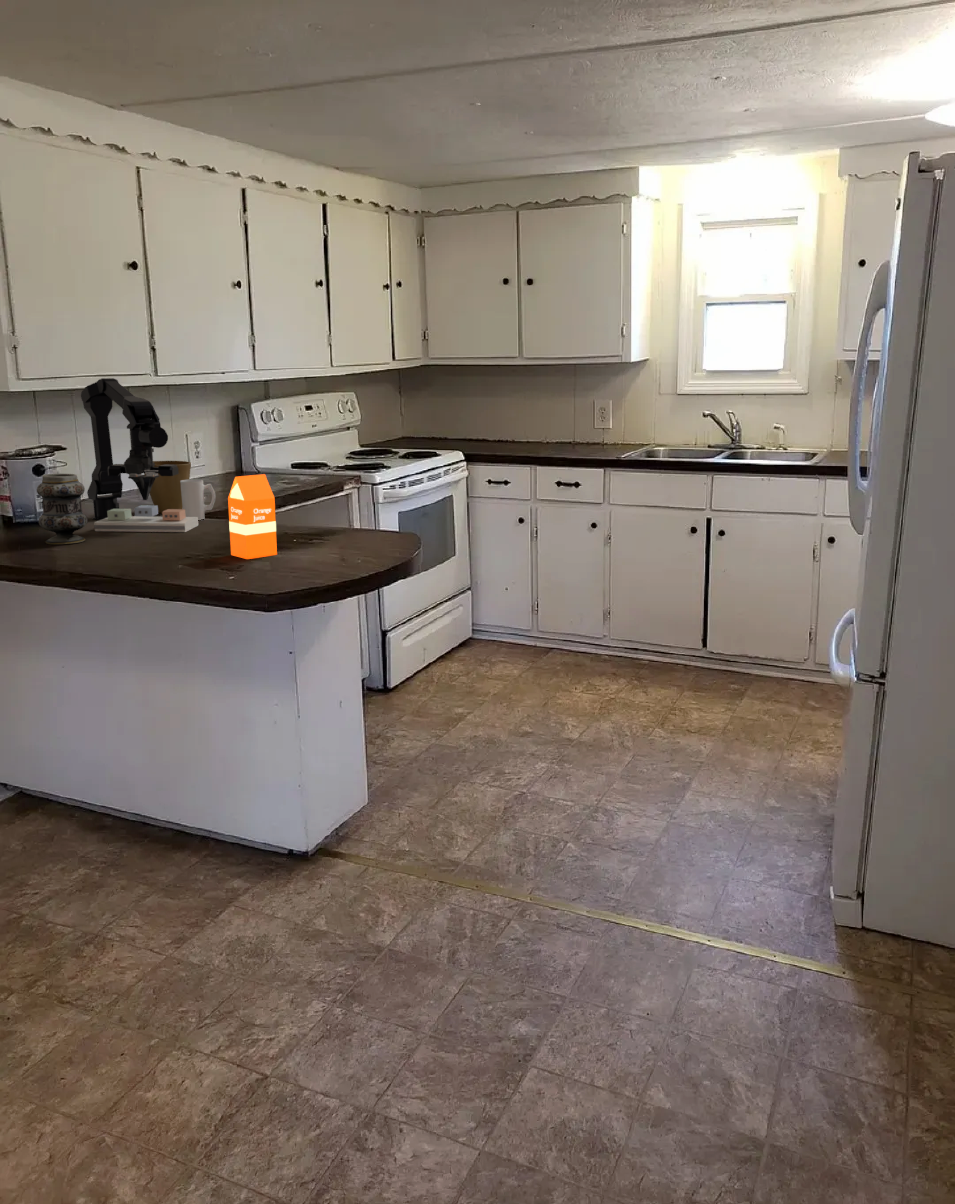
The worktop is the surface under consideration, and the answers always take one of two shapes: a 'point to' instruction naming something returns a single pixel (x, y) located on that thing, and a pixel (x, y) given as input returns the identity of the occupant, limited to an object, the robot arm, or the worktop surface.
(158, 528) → the console
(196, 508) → the mug
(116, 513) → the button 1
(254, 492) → the orange juice
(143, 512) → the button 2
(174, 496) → the plant pot
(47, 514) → the apothecary jar
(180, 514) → the orange block with buttons
